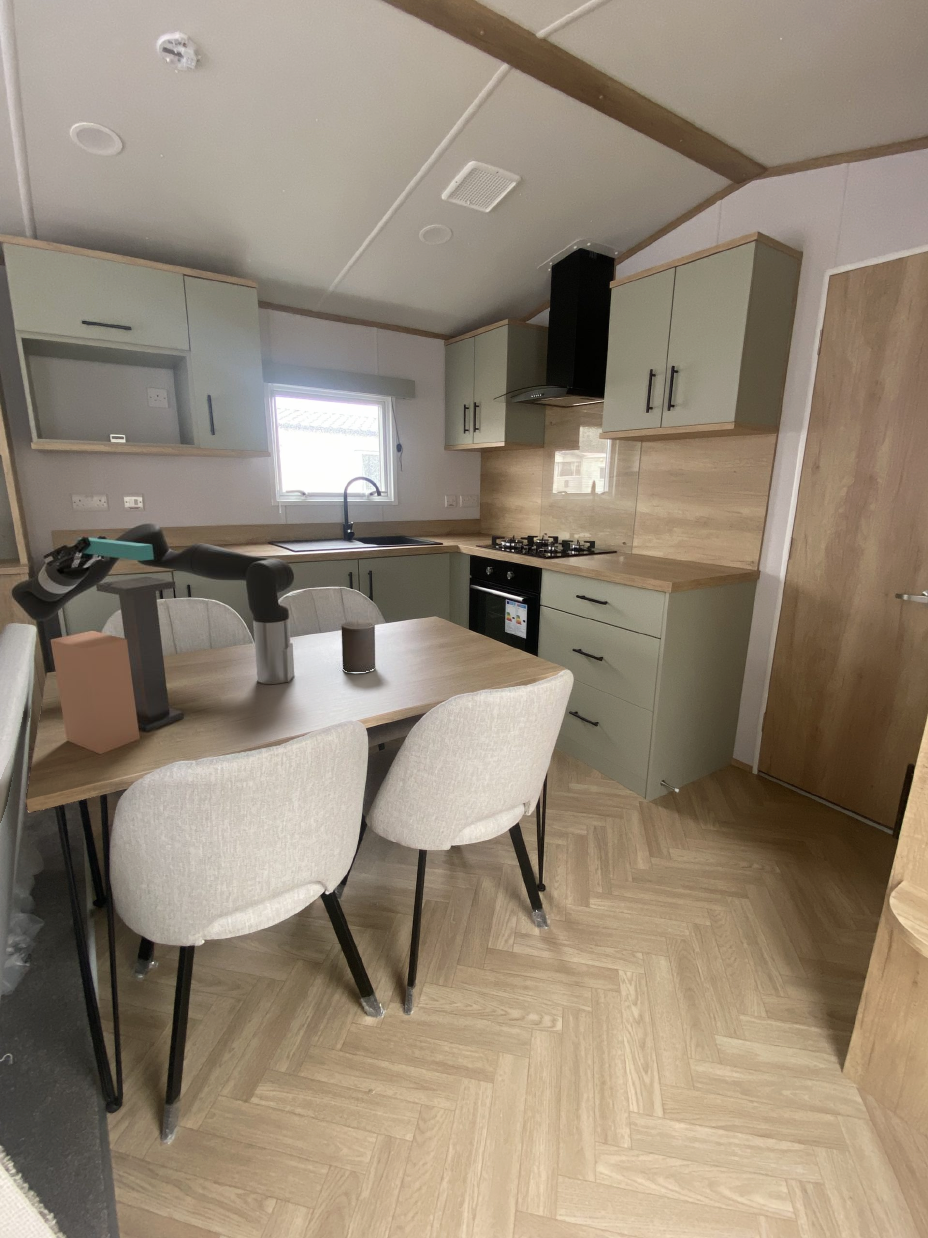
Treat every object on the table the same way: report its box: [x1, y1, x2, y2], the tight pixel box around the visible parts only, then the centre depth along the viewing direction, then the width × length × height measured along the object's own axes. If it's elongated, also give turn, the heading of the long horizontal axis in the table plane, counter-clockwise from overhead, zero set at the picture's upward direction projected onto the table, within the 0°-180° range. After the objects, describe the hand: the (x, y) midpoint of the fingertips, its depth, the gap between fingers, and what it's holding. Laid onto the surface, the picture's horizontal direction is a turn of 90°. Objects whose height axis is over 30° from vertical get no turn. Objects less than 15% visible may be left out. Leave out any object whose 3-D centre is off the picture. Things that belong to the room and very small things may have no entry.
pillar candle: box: [341, 619, 376, 672], centre depth 162 cm, size 10×10×15 cm
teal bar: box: [75, 537, 154, 562], centre depth 119 cm, size 22×3×3 cm, turn 62°
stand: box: [95, 576, 185, 734], centre depth 123 cm, size 10×11×32 cm
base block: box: [50, 630, 140, 755], centre depth 114 cm, size 12×8×22 cm, turn 62°
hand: (95, 539), depth 121 cm, fingers closed on teal bar, 3 cm apart
